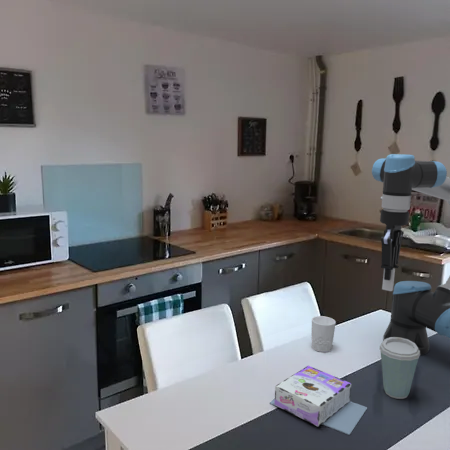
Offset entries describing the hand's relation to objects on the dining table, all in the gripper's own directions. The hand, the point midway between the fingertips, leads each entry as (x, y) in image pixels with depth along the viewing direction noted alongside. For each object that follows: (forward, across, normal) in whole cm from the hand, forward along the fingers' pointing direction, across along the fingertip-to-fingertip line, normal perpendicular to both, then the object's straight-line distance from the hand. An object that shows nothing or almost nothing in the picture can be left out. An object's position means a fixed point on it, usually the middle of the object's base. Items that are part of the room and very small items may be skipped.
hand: (387, 289), depth 133 cm
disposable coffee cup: (+28, +6, +6) cm, 29 cm away
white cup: (+28, -7, -22) cm, 36 cm away
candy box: (+25, +18, -8) cm, 32 cm away
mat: (+28, +26, -8) cm, 39 cm away
